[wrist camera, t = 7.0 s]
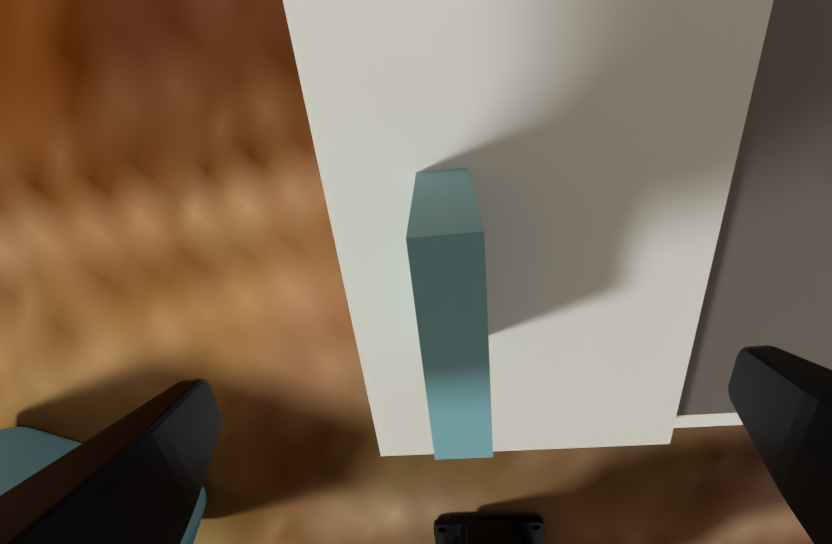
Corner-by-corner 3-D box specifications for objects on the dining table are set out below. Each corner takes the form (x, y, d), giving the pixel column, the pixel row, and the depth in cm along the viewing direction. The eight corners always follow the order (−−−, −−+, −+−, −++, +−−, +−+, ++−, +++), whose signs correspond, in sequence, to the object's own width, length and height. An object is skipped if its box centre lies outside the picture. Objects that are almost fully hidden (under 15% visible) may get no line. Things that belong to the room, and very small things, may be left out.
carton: (849, 326, 18) (985, 416, 14) (393, 355, 20) (381, 443, 16) (1046, -129, 12) (1441, -245, 7) (329, -26, 13) (275, -66, 9)
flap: (662, 431, 14) (750, 578, 10) (382, 444, 15) (363, 585, 11) (785, -128, 8) (1157, -321, 4) (278, -53, 9) (141, -144, 5)
